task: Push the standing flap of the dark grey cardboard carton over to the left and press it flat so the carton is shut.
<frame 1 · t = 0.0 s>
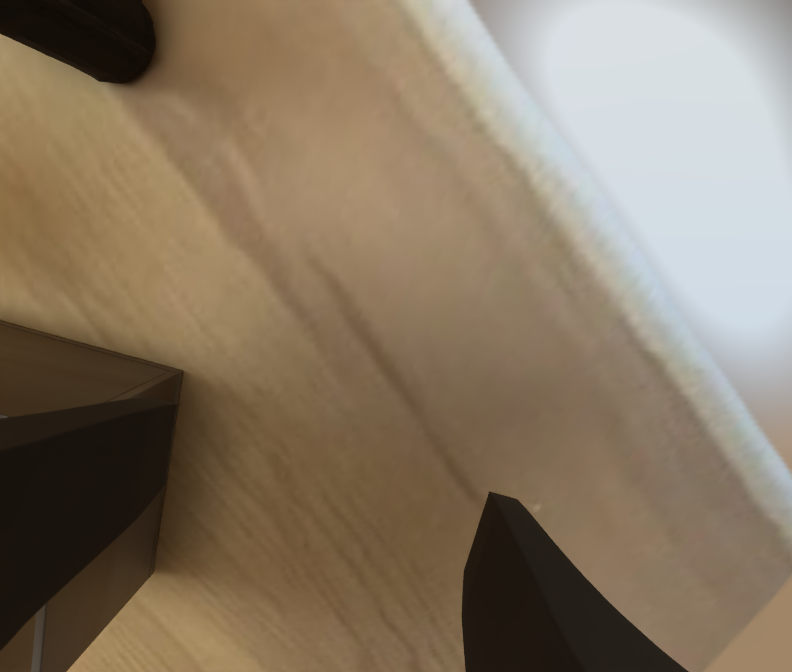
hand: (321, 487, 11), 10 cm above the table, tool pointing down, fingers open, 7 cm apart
carton: (61, 446, 23), on the table
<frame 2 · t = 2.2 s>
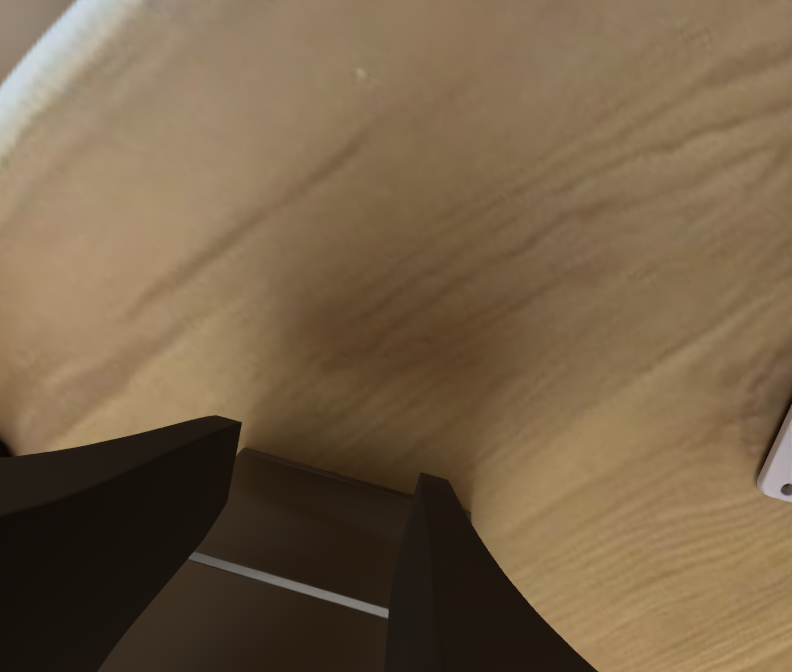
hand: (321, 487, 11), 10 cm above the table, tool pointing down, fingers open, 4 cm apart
flap: (282, 661, 12), point 10 cm above the table, hinge at 100.0°
carton: (331, 577, 23), on the table
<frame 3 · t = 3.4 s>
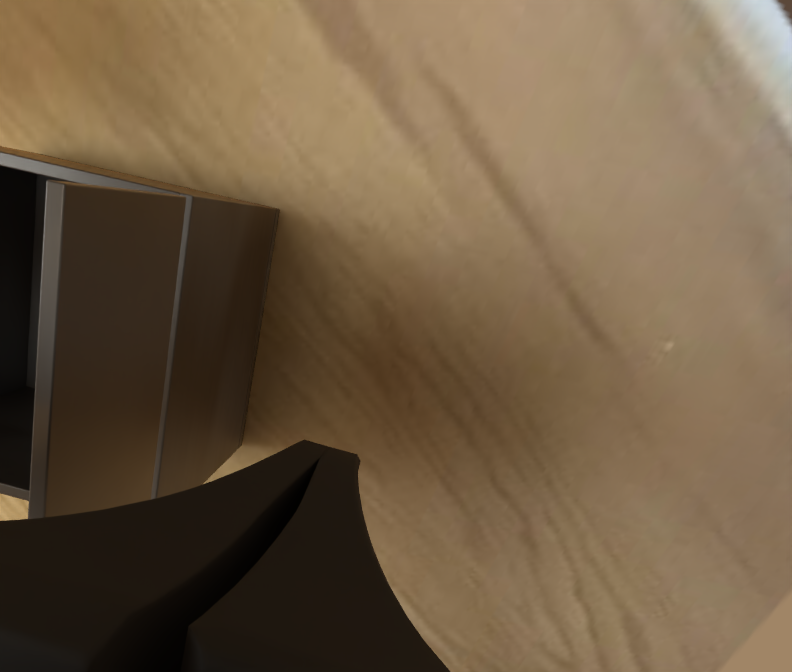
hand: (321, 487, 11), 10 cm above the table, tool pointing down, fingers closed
flap: (112, 424, 11), point 10 cm above the table, hinge at 100.0°
carton: (143, 305, 21), on the table
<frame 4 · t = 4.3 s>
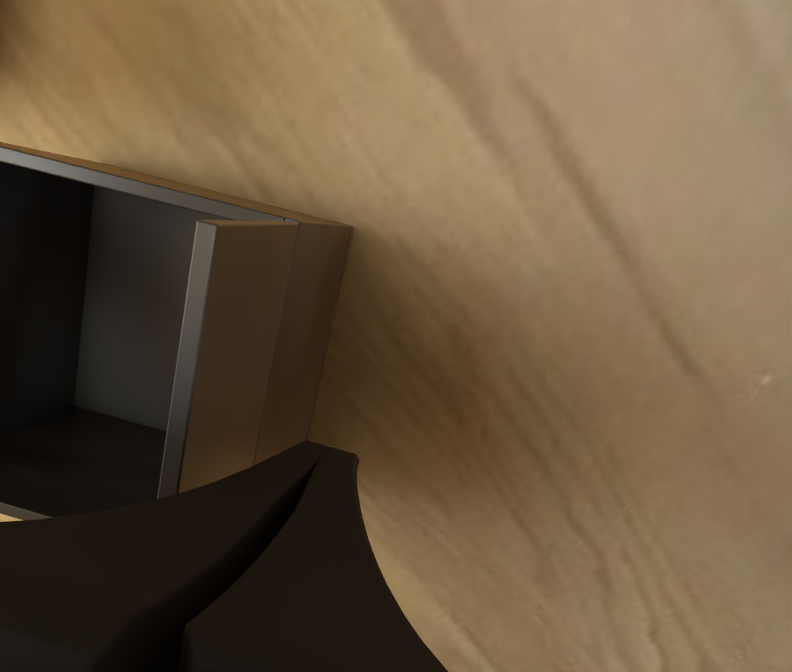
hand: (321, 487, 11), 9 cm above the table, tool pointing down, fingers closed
flap: (217, 479, 10), point 10 cm above the table, hinge at 96.3°, touching gripper
carton: (202, 324, 20), on the table
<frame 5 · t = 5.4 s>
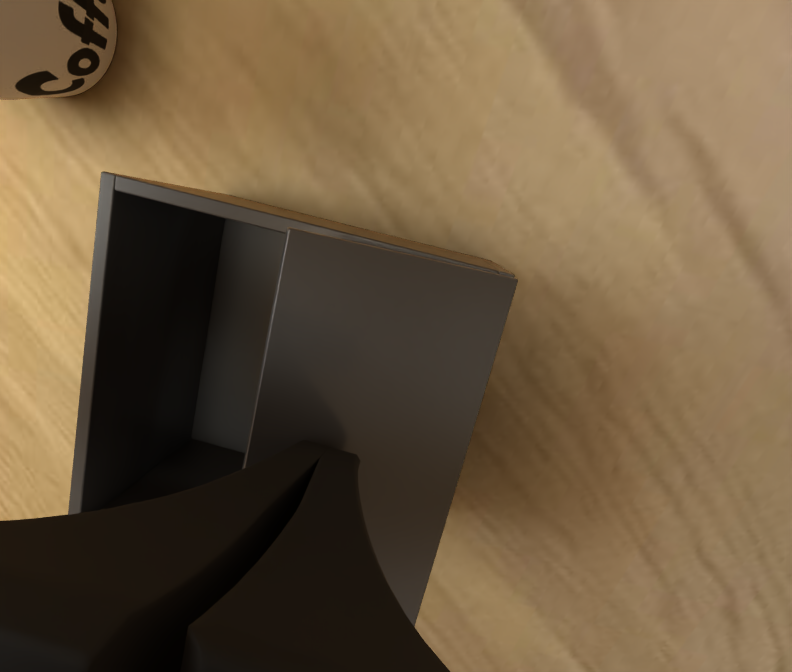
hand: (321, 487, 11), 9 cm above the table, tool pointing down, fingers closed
flap: (357, 478, 11), point 9 cm above the table, hinge at 25.5°
cup: (58, 27, 19), on the table
carton: (327, 357, 20), on the table
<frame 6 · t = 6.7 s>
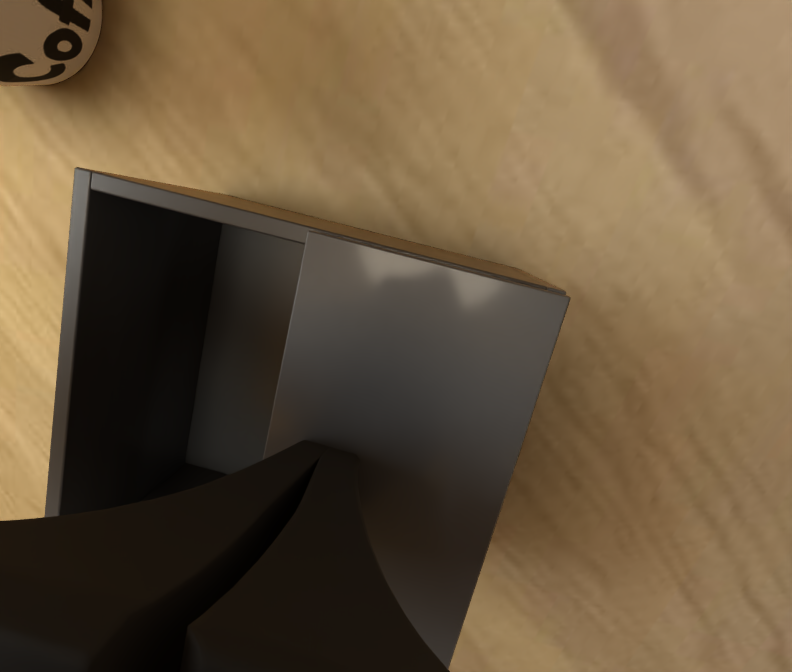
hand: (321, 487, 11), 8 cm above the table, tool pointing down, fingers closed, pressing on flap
flap: (375, 500, 11), point 7 cm above the table, hinge at -0.6°, touching gripper
cup: (37, 7, 17), on the table
carton: (335, 374, 18), on the table
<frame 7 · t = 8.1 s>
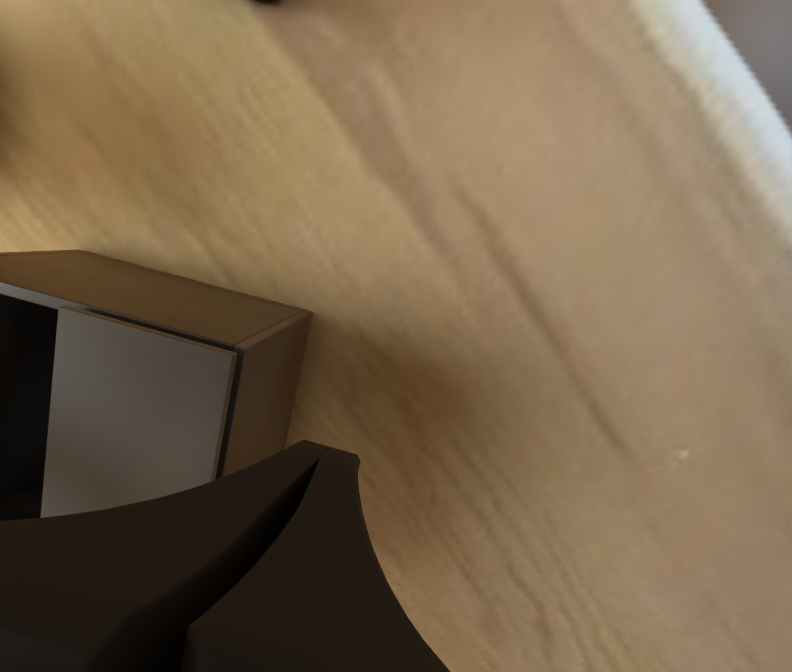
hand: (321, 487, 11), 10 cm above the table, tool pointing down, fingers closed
flap: (126, 495, 15), point 7 cm above the table, hinge at -0.8°
carton: (176, 394, 22), on the table
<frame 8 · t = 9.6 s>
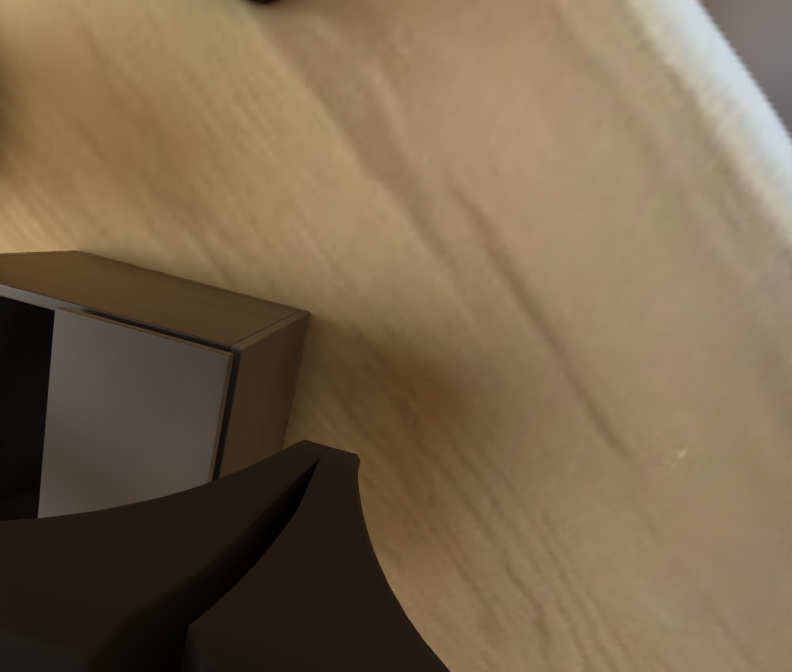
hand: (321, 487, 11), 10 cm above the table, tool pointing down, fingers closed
flap: (123, 496, 15), point 7 cm above the table, hinge at -0.8°
carton: (174, 395, 22), on the table
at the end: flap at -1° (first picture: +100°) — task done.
